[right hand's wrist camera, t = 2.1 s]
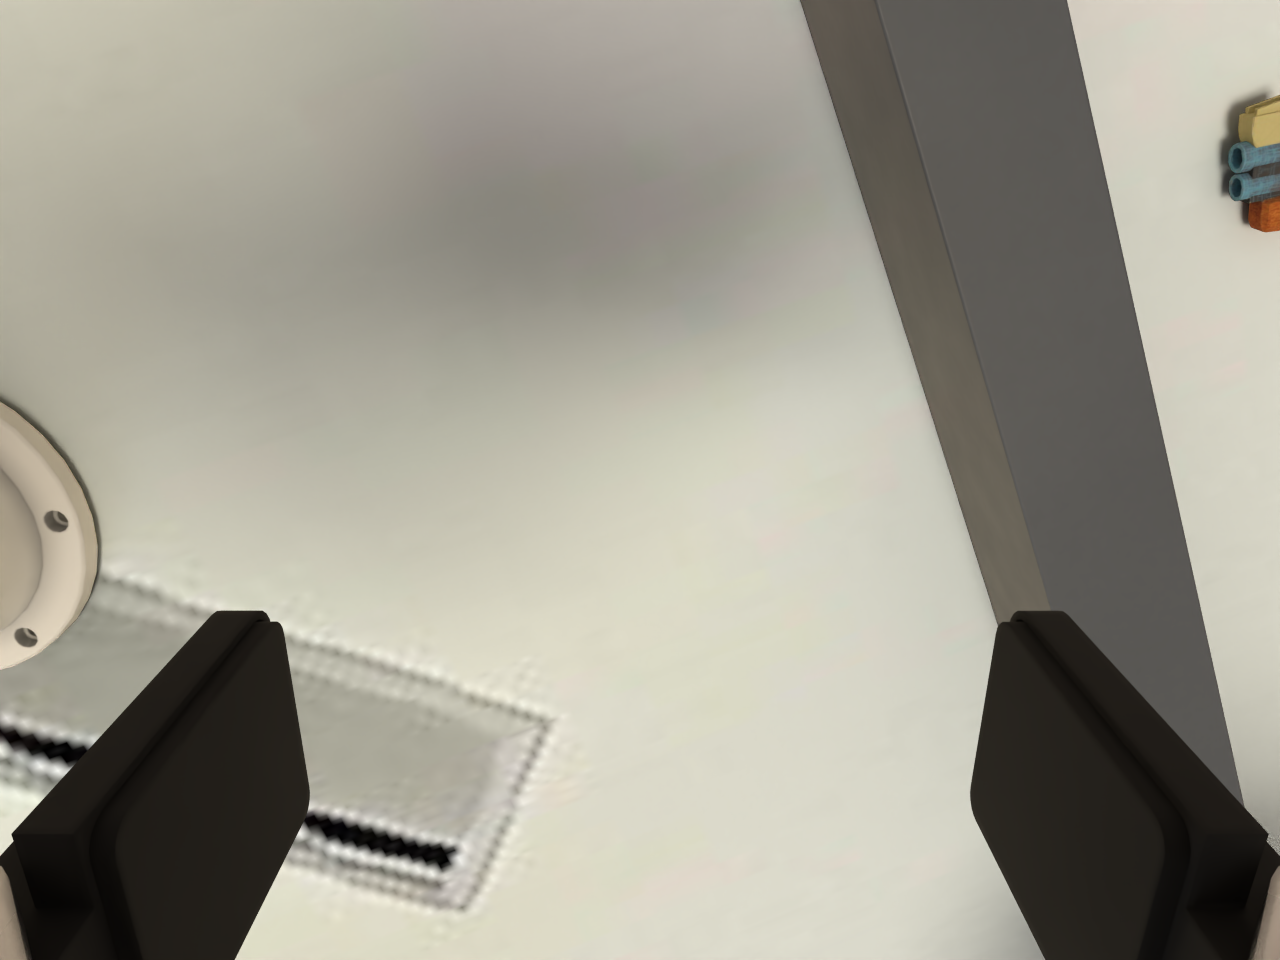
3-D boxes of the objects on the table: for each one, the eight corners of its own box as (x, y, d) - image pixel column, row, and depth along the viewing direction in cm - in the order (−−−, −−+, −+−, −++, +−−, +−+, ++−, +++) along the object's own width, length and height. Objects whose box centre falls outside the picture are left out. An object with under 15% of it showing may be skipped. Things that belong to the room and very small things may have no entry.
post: (423, -1190, 20) (310, -1948, 13) (602, -1311, 19) (590, -2176, 12) (1114, 994, 44) (1209, 1157, 37) (1202, 968, 44) (1315, 1128, 37)
